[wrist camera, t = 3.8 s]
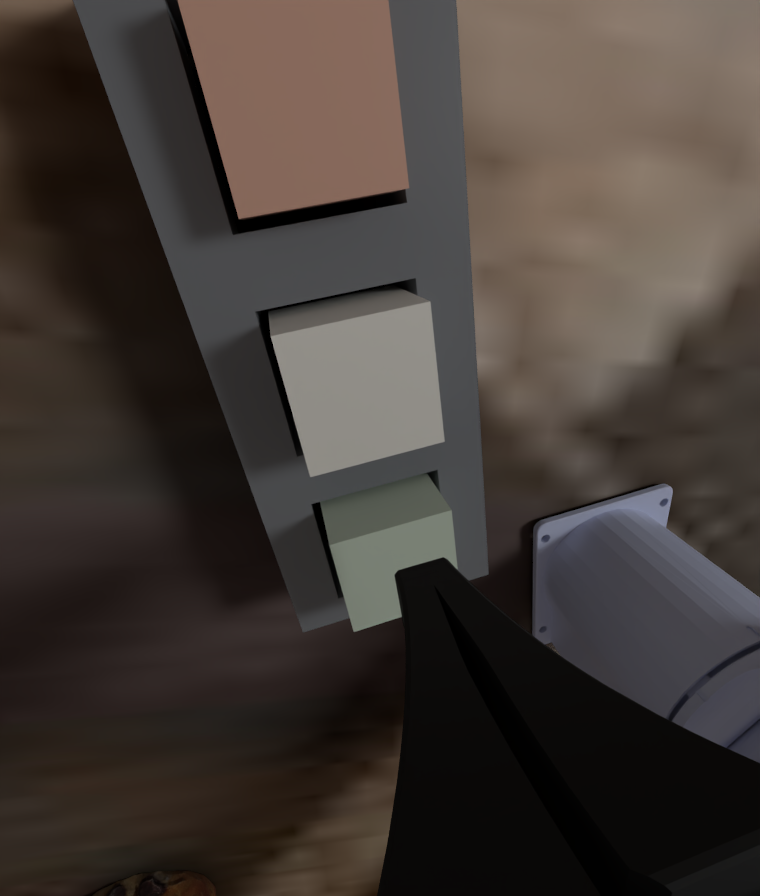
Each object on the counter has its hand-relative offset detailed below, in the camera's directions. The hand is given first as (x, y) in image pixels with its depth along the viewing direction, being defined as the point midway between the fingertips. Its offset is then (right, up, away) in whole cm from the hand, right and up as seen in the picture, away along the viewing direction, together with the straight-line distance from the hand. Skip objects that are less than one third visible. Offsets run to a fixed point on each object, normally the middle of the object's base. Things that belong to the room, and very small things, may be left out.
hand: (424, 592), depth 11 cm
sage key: (-1, +1, +6) cm, 7 cm away
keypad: (-3, +8, +5) cm, 9 cm away
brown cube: (-4, +13, +1) cm, 13 cm away
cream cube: (-2, +7, +3) cm, 8 cm away
